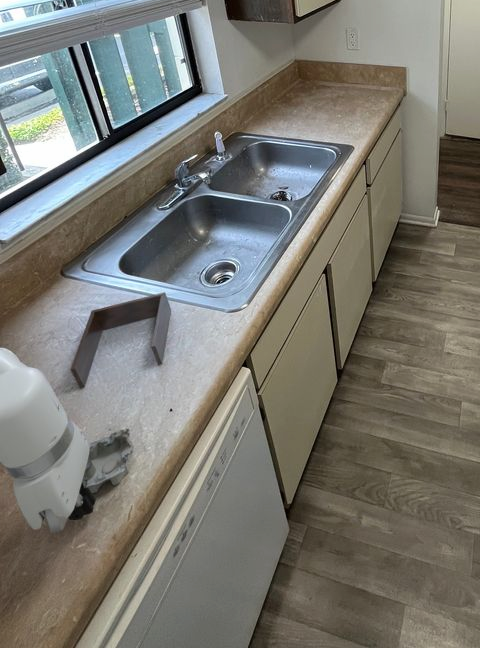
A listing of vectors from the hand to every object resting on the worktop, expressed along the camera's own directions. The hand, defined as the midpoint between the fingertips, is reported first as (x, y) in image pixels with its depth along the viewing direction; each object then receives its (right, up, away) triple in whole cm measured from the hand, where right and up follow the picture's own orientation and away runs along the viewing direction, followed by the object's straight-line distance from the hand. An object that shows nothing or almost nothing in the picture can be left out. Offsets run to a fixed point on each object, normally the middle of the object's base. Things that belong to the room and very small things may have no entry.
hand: (83, 510), depth 69 cm
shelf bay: (-10, +11, +28) cm, 32 cm away
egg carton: (-2, 0, +7) cm, 7 cm away
